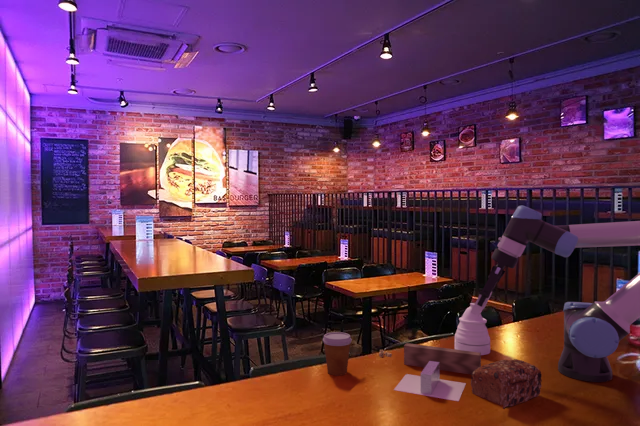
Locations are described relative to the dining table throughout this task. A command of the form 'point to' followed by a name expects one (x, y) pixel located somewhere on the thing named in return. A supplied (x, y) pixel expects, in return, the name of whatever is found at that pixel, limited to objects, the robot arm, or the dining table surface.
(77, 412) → the dining table surface
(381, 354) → the dice set
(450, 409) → the dining table surface
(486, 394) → the bread
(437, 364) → the steel ridge
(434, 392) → the base plate
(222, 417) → the dining table surface
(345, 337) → the disposable coffee cup
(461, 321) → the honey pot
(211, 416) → the dining table surface
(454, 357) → the walnut beam
